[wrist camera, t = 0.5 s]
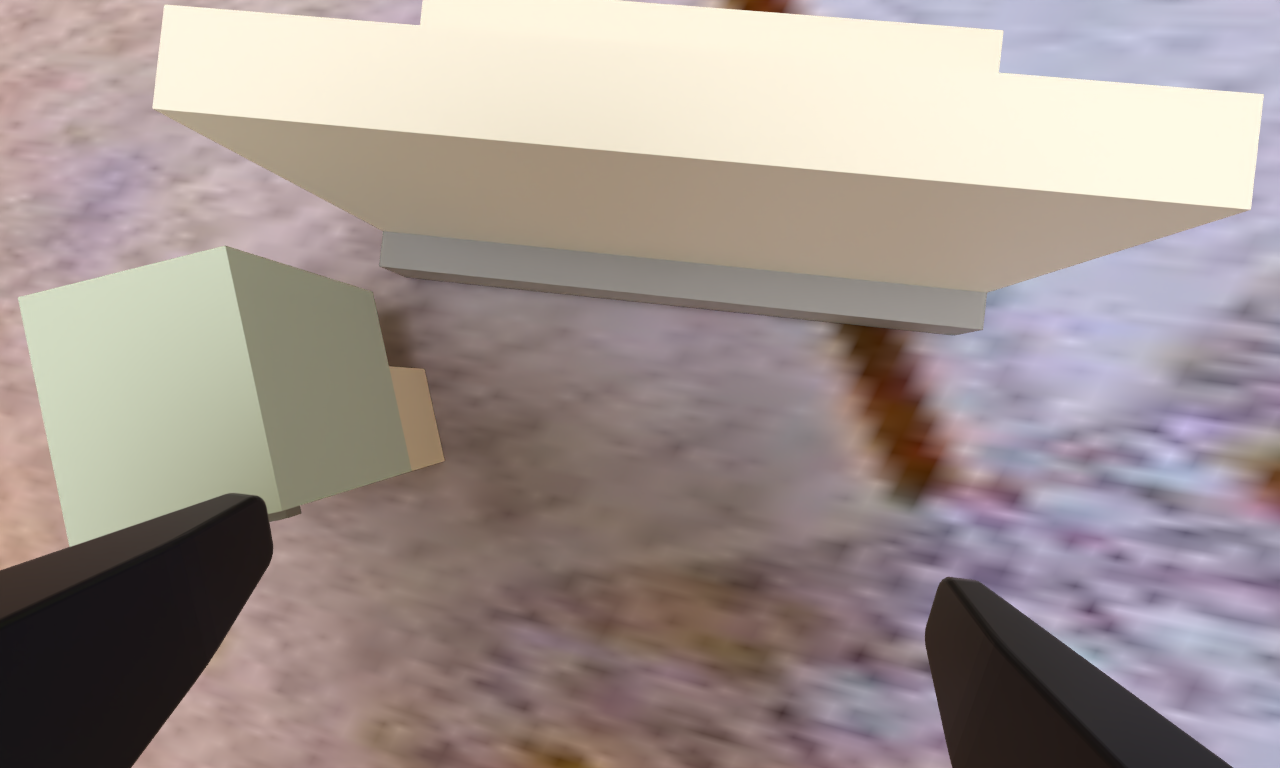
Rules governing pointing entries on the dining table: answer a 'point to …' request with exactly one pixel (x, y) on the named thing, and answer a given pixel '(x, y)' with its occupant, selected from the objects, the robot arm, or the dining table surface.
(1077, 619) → the dining table surface
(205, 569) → the robot arm
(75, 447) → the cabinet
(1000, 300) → the dining table surface
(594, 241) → the cream l-shaped piece
